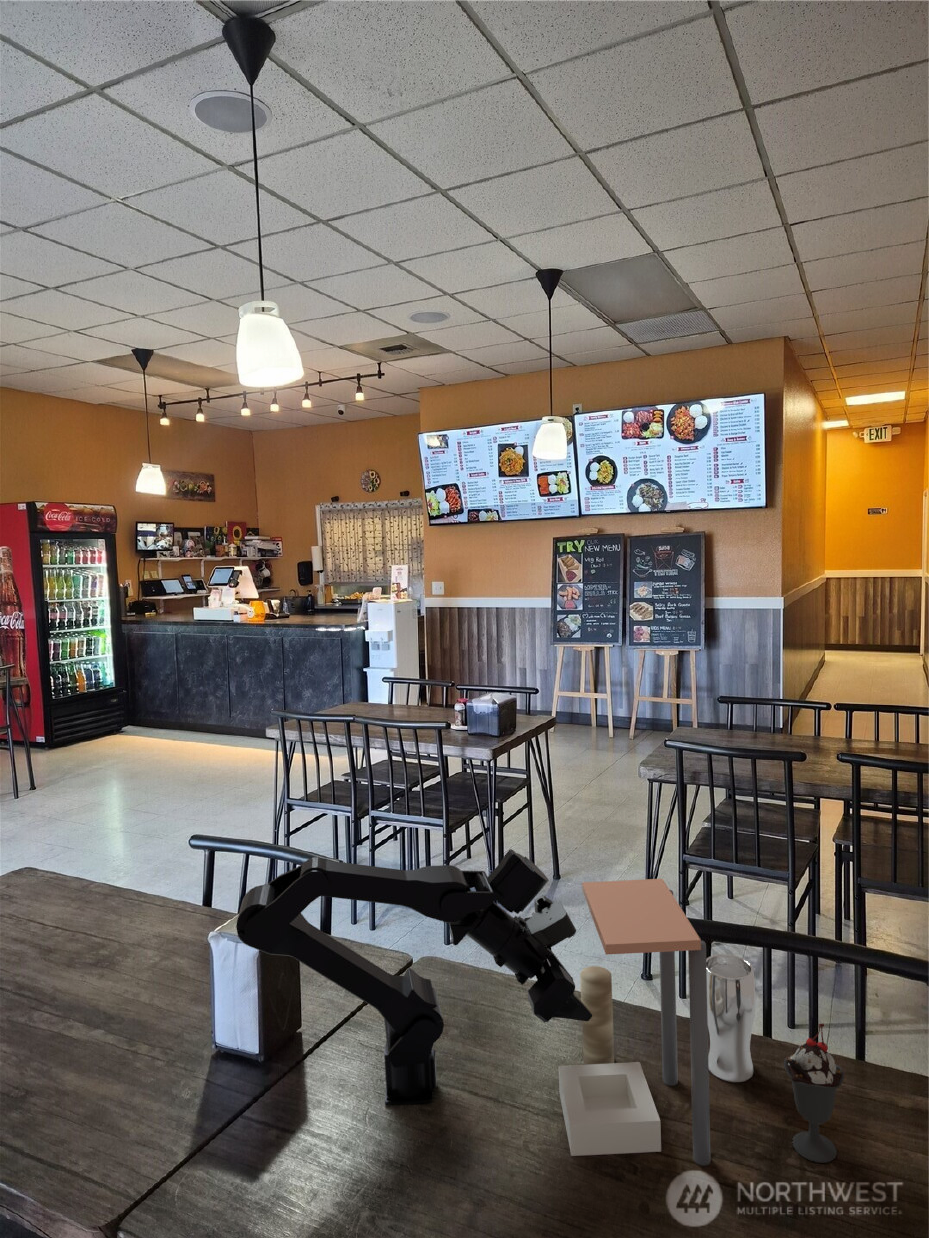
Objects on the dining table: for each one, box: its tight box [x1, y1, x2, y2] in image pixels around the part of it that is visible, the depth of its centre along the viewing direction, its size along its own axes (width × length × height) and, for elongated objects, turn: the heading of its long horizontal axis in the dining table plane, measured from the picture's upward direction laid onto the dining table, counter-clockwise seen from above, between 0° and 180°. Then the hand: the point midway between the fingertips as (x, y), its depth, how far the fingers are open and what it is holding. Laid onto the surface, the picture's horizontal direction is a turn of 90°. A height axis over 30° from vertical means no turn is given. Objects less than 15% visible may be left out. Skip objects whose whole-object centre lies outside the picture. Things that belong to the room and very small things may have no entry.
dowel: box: [579, 965, 615, 1065], centre depth 112 cm, size 4×4×13 cm
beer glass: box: [706, 953, 757, 1083], centre depth 109 cm, size 7×7×15 cm
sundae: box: [783, 1023, 845, 1164], centre depth 94 cm, size 7×7×15 cm
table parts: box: [558, 878, 711, 1167], centre depth 100 cm, size 16×17×28 cm
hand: (580, 999), depth 112 cm, fingers open, 9 cm apart
